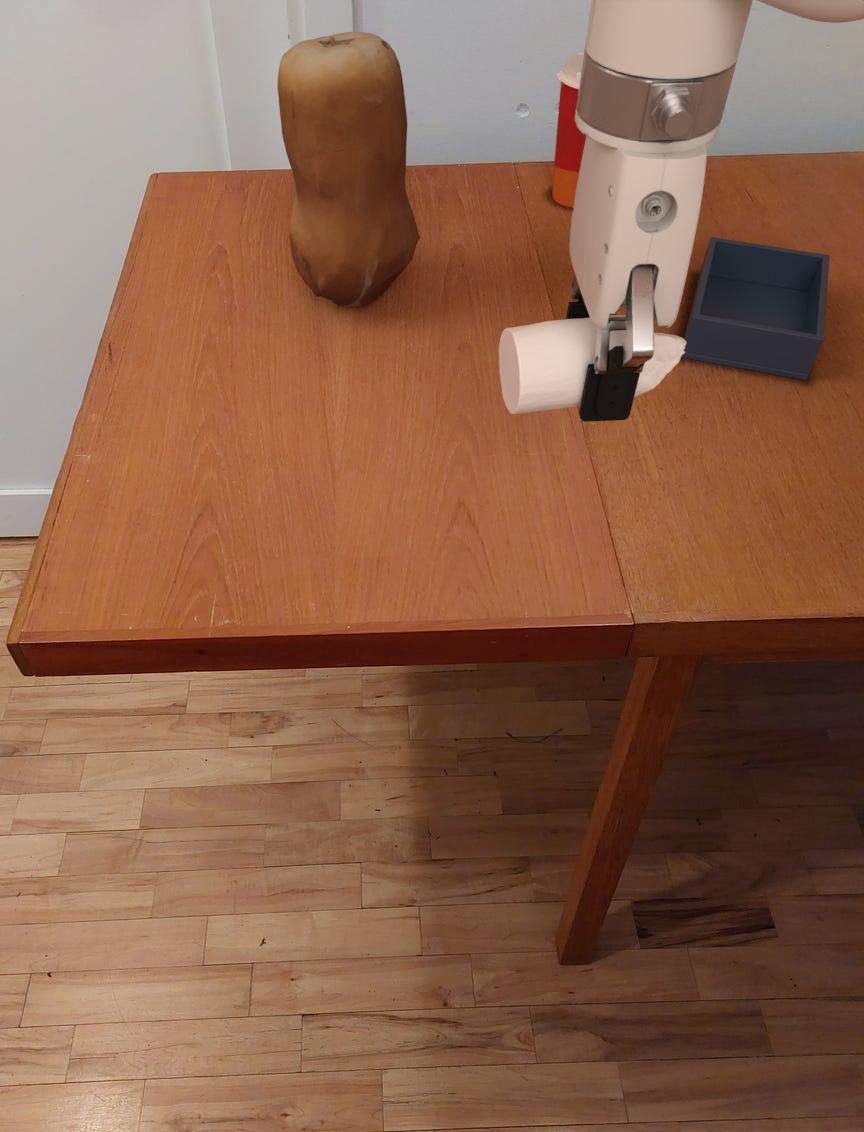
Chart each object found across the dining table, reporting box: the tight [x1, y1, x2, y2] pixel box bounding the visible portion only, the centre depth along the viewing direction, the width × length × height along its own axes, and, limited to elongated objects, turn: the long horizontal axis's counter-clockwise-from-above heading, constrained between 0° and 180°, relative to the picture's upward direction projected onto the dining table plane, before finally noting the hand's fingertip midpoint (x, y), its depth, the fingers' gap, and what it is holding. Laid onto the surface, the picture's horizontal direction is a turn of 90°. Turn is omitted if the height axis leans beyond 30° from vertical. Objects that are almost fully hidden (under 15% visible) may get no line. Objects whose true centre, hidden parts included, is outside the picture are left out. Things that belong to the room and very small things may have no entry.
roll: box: [498, 314, 687, 416], centre depth 59 cm, size 6×12×6 cm, turn 98°
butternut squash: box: [276, 31, 421, 308], centre depth 89 cm, size 14×13×25 cm
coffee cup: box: [552, 51, 586, 209], centre depth 106 cm, size 8×8×15 cm
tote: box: [681, 236, 831, 381], centre depth 93 cm, size 16×12×5 cm
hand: (593, 383), depth 60 cm, fingers closed on roll, 6 cm apart
